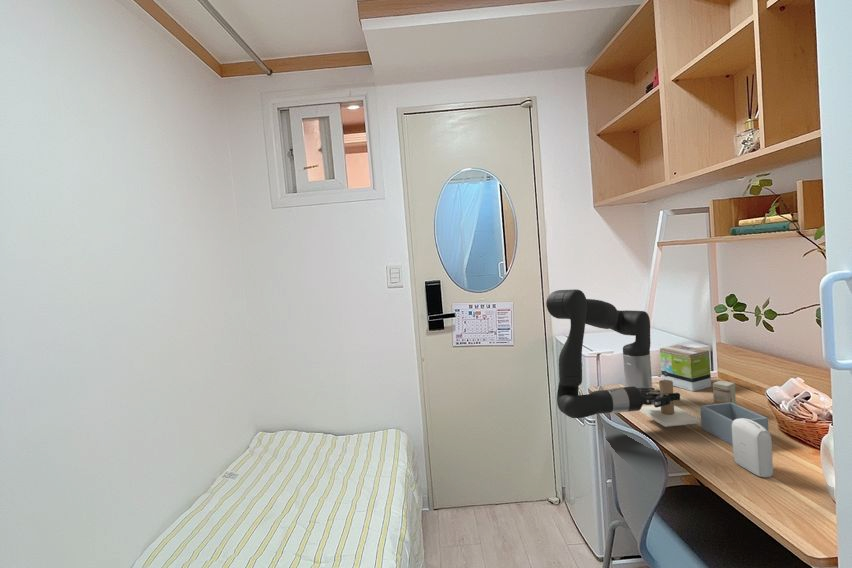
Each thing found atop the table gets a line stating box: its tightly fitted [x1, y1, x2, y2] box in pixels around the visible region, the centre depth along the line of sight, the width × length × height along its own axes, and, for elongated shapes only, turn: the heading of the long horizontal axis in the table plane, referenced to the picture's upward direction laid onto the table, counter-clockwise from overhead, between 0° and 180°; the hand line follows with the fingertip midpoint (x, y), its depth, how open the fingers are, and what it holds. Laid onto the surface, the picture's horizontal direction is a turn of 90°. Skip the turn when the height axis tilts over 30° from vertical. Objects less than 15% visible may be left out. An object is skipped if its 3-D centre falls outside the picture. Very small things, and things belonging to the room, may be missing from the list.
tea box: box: [659, 344, 712, 392], centre depth 195 cm, size 15×10×15 cm, turn 21°
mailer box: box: [699, 402, 770, 447], centre depth 145 cm, size 15×10×7 cm, turn 3°
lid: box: [639, 379, 701, 428], centre depth 156 cm, size 16×11×11 cm
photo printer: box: [732, 418, 774, 478], centre depth 124 cm, size 10×4×12 cm, turn 3°
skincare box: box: [712, 379, 737, 404], centre depth 163 cm, size 5×4×10 cm
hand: (675, 394), depth 156 cm, fingers closed on lid, 3 cm apart
